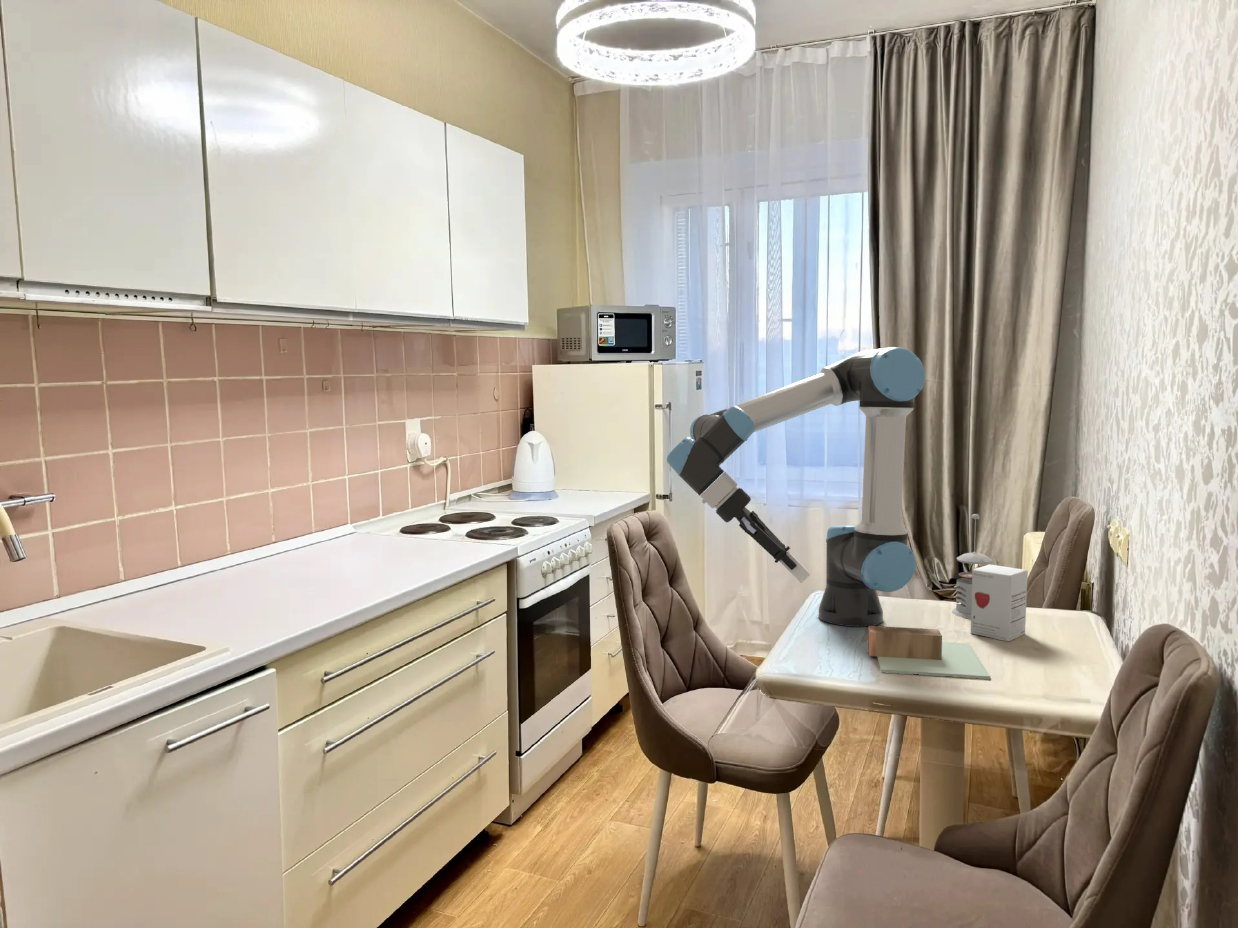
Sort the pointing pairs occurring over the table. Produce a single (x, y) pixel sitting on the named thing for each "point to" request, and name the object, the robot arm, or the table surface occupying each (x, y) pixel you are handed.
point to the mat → (940, 663)
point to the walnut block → (905, 642)
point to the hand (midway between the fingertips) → (805, 577)
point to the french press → (968, 579)
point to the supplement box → (999, 602)
